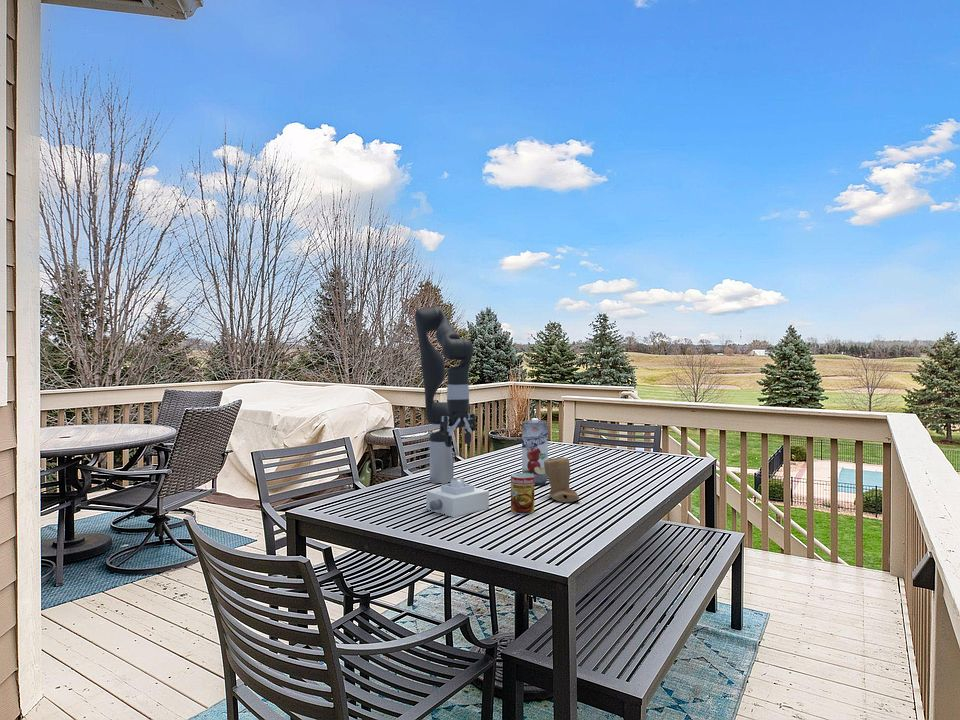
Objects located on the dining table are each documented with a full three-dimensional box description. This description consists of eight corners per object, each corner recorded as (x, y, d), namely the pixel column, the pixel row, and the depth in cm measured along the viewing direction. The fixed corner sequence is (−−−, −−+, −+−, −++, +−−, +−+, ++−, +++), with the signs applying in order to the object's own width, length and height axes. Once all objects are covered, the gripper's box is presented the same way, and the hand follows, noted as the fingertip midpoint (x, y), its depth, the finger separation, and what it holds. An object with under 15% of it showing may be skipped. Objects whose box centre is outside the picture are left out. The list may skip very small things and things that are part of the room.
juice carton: (522, 481, 237) (522, 416, 237) (547, 481, 236) (547, 417, 236) (521, 485, 228) (521, 418, 229) (548, 486, 227) (547, 419, 228)
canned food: (510, 513, 185) (510, 477, 185) (510, 507, 193) (510, 472, 193) (534, 514, 185) (534, 477, 185) (533, 508, 193) (533, 473, 193)
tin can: (458, 506, 195) (458, 477, 195) (466, 509, 191) (466, 479, 191) (448, 508, 192) (448, 479, 192) (457, 511, 188) (456, 481, 188)
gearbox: (461, 501, 202) (461, 479, 202) (488, 508, 192) (488, 485, 192) (419, 510, 189) (419, 487, 189) (446, 519, 179) (446, 493, 179)
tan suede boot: (542, 493, 214) (542, 454, 214) (574, 494, 213) (574, 454, 214) (546, 503, 199) (546, 461, 199) (579, 504, 198) (579, 461, 198)
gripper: (466, 396, 199) (466, 442, 199) (434, 398, 189) (434, 446, 189) (480, 397, 194) (480, 444, 194) (449, 399, 184) (449, 449, 184)
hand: (458, 445), depth 192 cm, fingers open, 8 cm apart
